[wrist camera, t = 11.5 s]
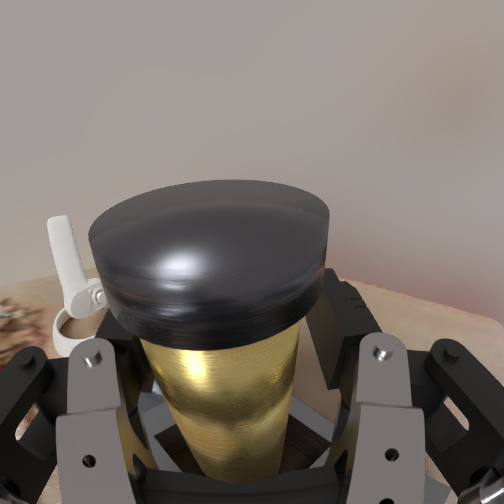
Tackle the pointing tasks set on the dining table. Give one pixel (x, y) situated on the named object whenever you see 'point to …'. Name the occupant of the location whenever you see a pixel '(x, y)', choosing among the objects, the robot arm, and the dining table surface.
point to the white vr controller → (72, 283)
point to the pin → (218, 307)
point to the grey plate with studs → (297, 433)
